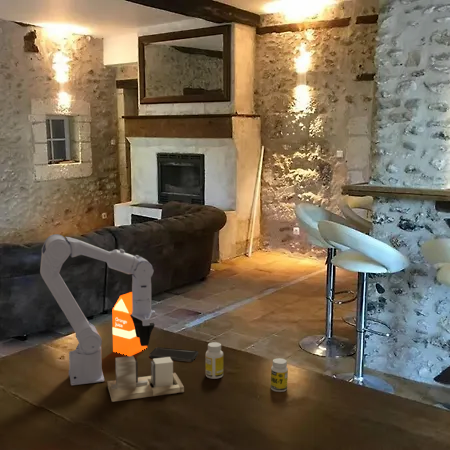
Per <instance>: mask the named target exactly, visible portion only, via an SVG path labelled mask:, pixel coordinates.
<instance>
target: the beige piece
mask: <svg viewBox="0 0 450 450" xmlns="http://www.w3.org/2000/svg"><path fill="white" fill-rule="evenodd" d="M138 365H139V363H138V360H137V357H134V355H132V356H121V357H120V356H119V357H115V380H107V389H108V393H109V395H110V396H109V397H110V399H111V402H121V401H127V400H128V401H129V400H135V399H142V398H149V397H156V396H158V397H159V396H165V395H171V394H177V393H184V392H185V387H184V385H183V383H182V381H181V379H180V378H179V376H178V374H177V373H176V372H173V385H170V386H163V387H155V388H154V387H152V386H151V384H152V382H151V375H147V376H138V375H139V370H138V367H139V366H138ZM152 385H153V384H152Z"/></svg>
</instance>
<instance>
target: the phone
mask: <svg viewBox="0 0 450 450" xmlns="http://www.w3.org/2000/svg"><path fill="white" fill-rule="evenodd" d="M198 355H199V351H198V350H191V349H182V348H171V347H159V346H158V347H155V348H154V349H152V351H151V352H150V353H149V358H150V359H155V358H164V357H170V358H171V360H172V361H177V362H187V363H188V362H189V363H191V362H194V361H195V360H196V358H197V357H198ZM194 359H195V360H194Z"/></svg>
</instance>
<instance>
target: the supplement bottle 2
mask: <svg viewBox="0 0 450 450" xmlns="http://www.w3.org/2000/svg"><path fill="white" fill-rule="evenodd" d="M287 365H288V363H287V359H285V358H282V357H281V358H280V357H278V358H274V359H273V360H272V366H271V367H270V389H271V391H273V392H278V393H281V392H286V391H287V390H288V379H289V377H288V376H289V369H288V367H287Z"/></svg>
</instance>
